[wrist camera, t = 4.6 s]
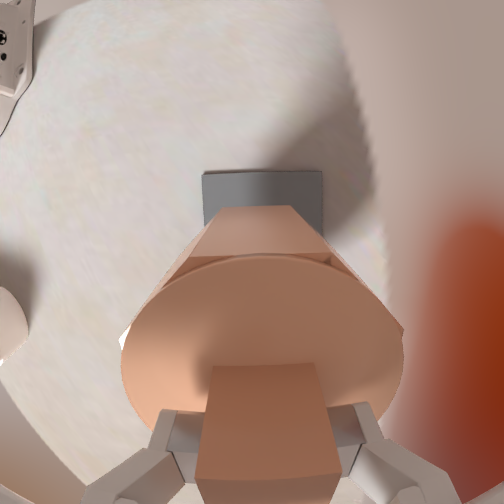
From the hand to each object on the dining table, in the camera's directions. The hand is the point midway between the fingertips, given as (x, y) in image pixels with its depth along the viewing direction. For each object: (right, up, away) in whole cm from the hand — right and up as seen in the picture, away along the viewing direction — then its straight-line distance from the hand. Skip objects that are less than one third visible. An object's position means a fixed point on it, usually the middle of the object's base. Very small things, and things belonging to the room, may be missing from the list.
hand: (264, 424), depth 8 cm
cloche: (0, +3, +11) cm, 11 cm away
